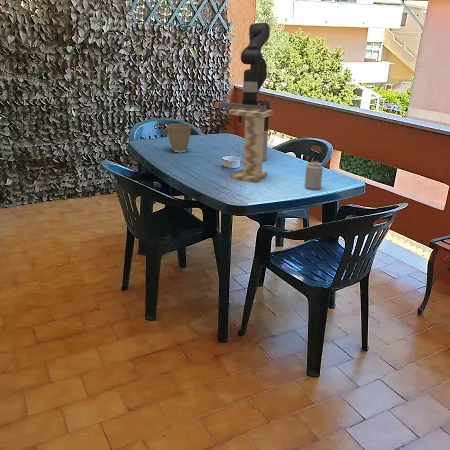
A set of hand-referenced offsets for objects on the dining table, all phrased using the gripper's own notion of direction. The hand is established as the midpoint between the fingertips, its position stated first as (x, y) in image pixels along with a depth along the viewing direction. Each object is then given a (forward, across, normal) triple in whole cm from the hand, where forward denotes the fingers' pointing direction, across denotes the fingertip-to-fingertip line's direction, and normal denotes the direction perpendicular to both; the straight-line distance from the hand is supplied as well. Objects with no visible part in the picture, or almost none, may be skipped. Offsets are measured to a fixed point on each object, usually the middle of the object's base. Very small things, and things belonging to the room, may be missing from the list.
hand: (248, 123), depth 240 cm
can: (+26, -32, +34) cm, 53 cm away
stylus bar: (-8, +4, +20) cm, 22 cm away
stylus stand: (+25, -1, +20) cm, 32 cm away
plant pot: (+22, +42, -31) cm, 57 cm away
